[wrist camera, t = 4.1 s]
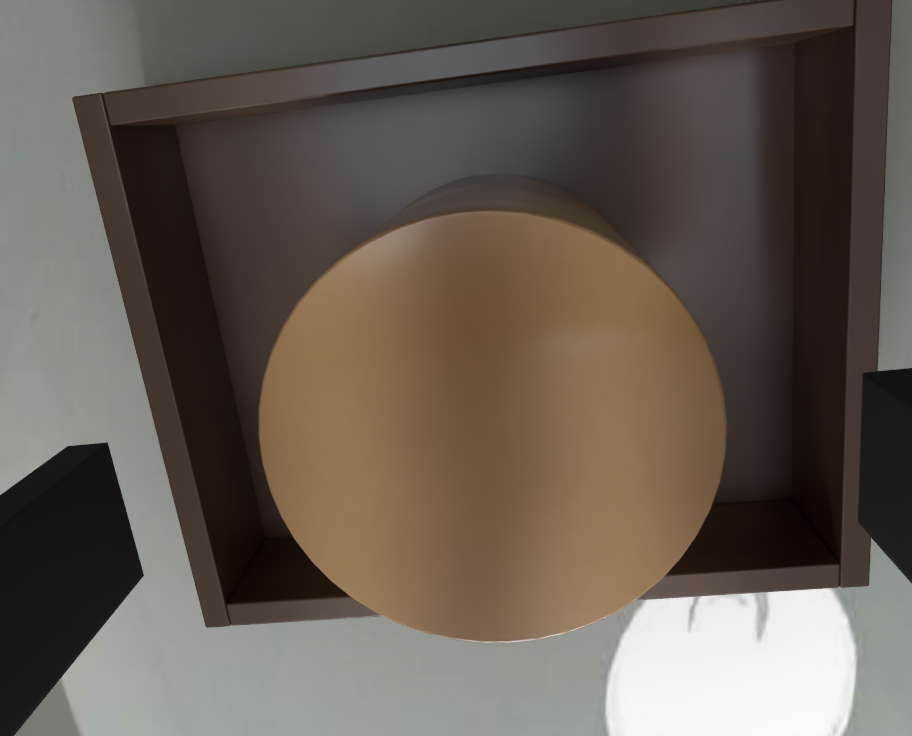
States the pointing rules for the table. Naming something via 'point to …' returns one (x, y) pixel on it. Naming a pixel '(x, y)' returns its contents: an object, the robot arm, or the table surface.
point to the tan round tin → (493, 416)
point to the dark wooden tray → (560, 163)
